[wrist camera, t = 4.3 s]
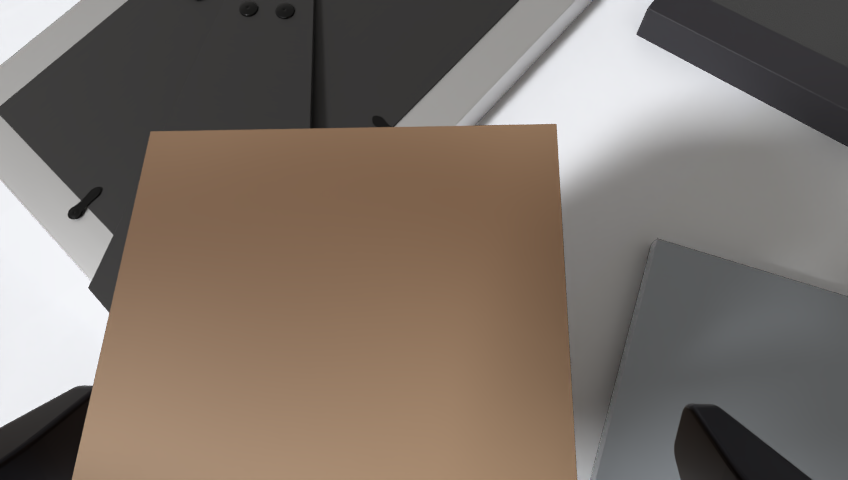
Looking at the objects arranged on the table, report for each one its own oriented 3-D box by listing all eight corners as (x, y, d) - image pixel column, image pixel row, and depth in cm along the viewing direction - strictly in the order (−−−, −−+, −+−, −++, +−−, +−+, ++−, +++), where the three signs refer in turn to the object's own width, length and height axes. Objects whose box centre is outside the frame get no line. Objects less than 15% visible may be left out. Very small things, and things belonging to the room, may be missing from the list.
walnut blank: (500, 470, 15) (586, 633, 4) (351, 464, 16) (44, 596, 4) (497, 320, 17) (556, 123, 5) (362, 317, 17) (150, 131, 6)
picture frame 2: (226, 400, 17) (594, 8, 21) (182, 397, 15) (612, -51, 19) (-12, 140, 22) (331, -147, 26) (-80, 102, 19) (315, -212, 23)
